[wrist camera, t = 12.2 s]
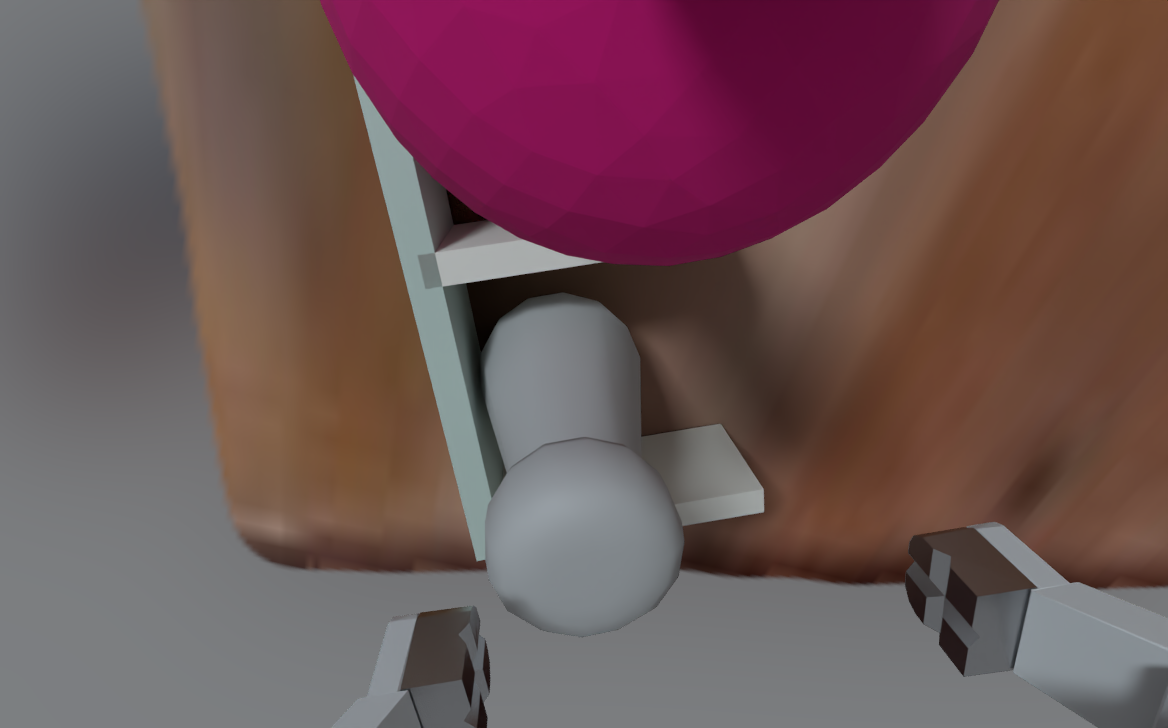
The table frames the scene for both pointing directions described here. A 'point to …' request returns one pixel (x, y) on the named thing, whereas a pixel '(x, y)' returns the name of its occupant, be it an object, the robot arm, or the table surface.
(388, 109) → the pepper mill
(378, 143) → the condiment rack
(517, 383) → the salt shaker
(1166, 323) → the table surface
